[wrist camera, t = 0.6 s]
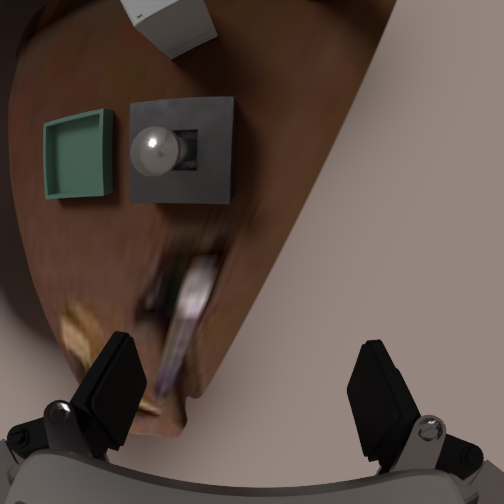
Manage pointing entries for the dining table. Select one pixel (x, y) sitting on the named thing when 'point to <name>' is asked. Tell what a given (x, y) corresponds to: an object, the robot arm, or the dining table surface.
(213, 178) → the socket block
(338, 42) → the dining table surface
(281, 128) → the dining table surface
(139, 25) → the supplement box
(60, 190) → the tray
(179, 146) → the pin
